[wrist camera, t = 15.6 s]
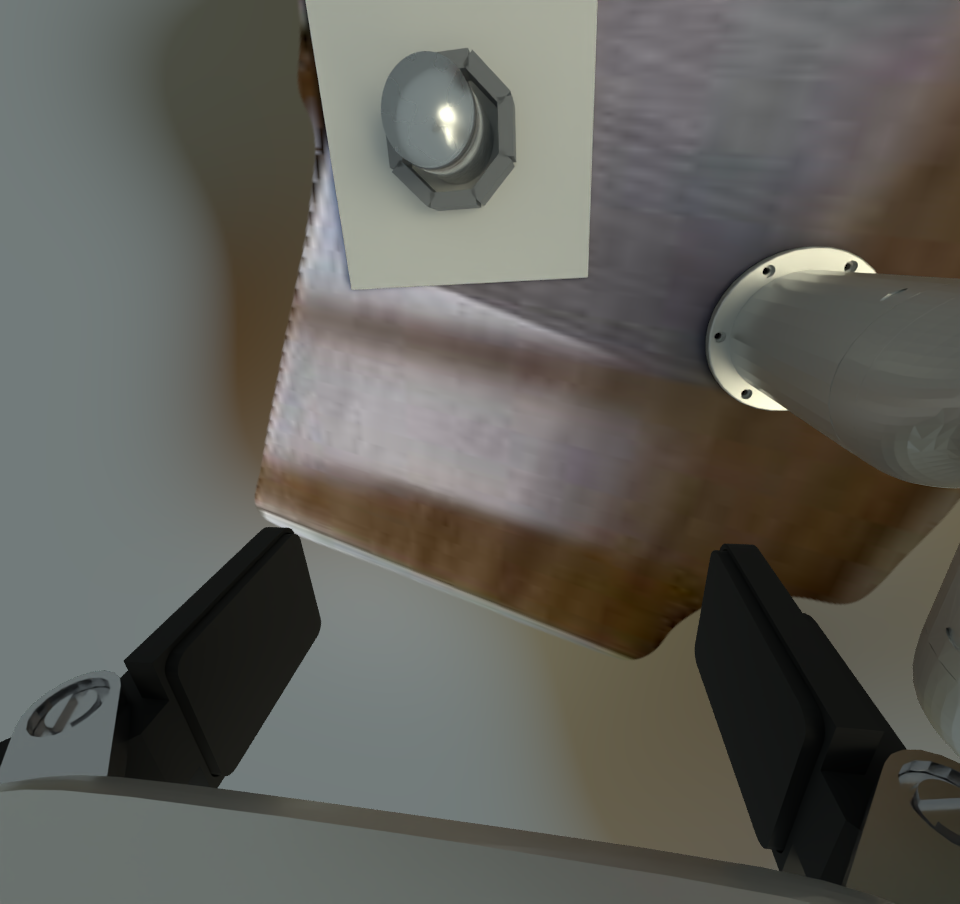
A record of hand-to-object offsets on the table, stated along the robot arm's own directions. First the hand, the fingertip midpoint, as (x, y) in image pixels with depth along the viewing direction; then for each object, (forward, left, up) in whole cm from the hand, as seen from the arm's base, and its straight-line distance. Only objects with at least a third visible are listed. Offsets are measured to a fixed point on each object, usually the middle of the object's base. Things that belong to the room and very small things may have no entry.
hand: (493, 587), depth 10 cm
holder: (+6, -15, -32) cm, 36 cm away
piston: (+6, -15, -31) cm, 35 cm away
